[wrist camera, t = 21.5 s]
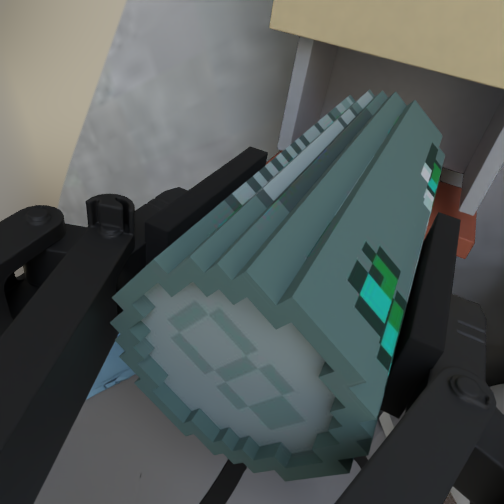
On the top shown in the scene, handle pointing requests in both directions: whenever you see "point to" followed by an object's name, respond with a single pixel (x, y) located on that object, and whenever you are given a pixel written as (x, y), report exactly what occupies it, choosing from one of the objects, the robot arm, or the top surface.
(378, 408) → the can
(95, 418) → the robot arm
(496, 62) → the beige cardboard box
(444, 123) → the drawer
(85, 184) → the top surface
